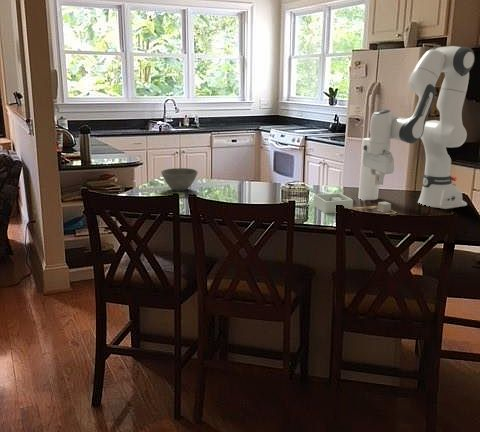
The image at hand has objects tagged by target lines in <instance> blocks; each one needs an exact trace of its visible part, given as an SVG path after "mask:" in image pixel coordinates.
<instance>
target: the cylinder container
mask: <svg viewBox="0 0 480 432" xmlns="http://www.w3.org/2000/svg"><path fill="white" fill-rule="evenodd" d="M369 139H370V137H364V138H362V141H361V142H362V145H361V158H360V171H359V184H358V185H359V186H358V197H357V199H358V198H359V199H361V200H360V201H375V200H378V199H379V192H380V191H379V190H380V185H374V184H371V183H370V179H371V171H370V168H369V167H366V166H364V164H363V153H364V150H363V146H364V145H367V144H369ZM376 174H379V171H376ZM359 199H358V200H359Z"/></svg>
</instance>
